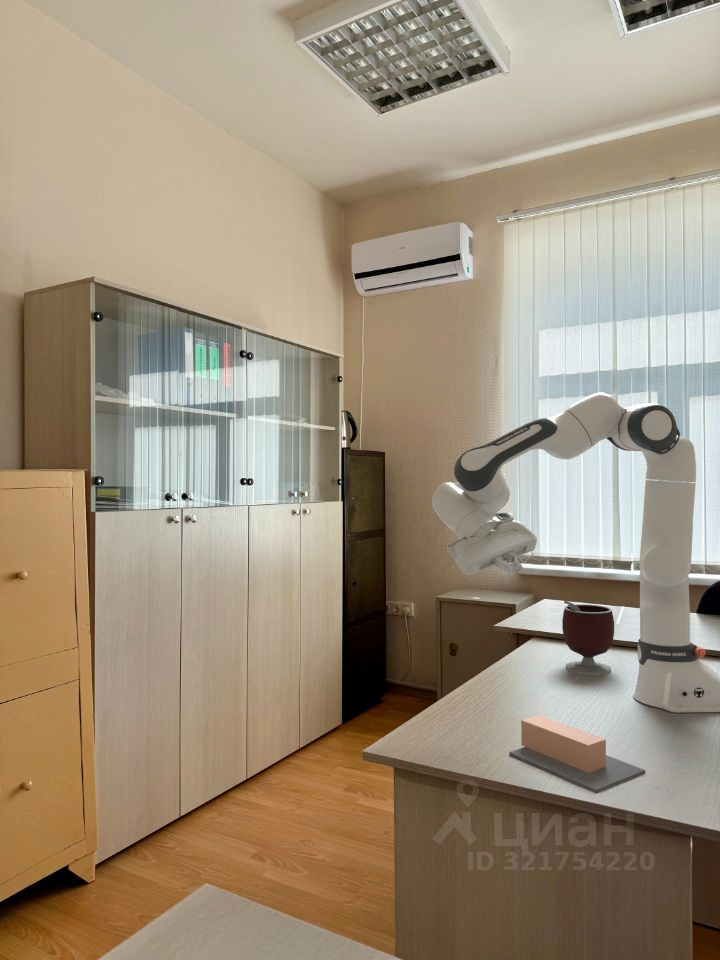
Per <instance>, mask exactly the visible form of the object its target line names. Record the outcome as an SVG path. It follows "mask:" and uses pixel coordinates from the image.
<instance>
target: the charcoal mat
mask: <svg viewBox="0 0 720 960" xmlns="http://www.w3.org/2000/svg"><path fill="white" fill-rule="evenodd" d="M508 754H509V756H511V757H514V758H516V759H518V760H521V761H523V762H525V763H527V764H530V765H532V766H534V767H536V768H539V769H541V770H544V771H546V772H548V773H551V774H553V775H555V776H557V777H560V778H562V779H564V780H566V781H569V782H571V783H573V784H576V785H578V786H580V787H582V788H585V789H587V790H589V791H591V792H594V793H600V792H601V791H605V790H606V789H609V788H612V787H614V786H616V785H618V784H621V783H623V782H626V781H628V780H631V779H633V778H636V777H637V776H638V777H639V776H640V775H643V774H645V773H646V770H645V769H644V768H641V767H639V766H635V765H633V764H630V763H627V762H625V761H622V760H620V759H618V758H615V757H612V756H610V755H607V754H606V767H603V768H601V769H598V770H595V771H593V772H590V773H587V772H585V771H582V770H580V769H577V768H575V767H573V766H570V765H568V764H565V763H563V762H561V761H558V760H556V759H553V758H551V757H549V756H546V755H544V754H541V753H539V752H537V751H534V750H532V749H529V748H527V747H524V746H522V747H520V748H518V749H515V750H512V751H508Z"/></svg>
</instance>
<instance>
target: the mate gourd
mask: <svg viewBox="0 0 720 960" xmlns="http://www.w3.org/2000/svg"><path fill="white" fill-rule="evenodd" d="M563 603H564V604H567V605H565V606H564V609H563V614H562V620H561V622H562V625H561V626H562V636H563V639H564V643H565V645H566V646H567V647H568V649H569V650H570V651H572V652H574V653H576V654H578V655H580V656H581V657H582V659H581V660H577V661H576V660H575V661H569V662H567V663H566V664H565V669H566V670H567V671H568V672H571V673H573V672H574V673H573V674H579V675H583V674H584V675H583V676H605V675H609V674H611V673H612V667H611V666H609V665H608V664H605V663H601V662H597V661H595V659H594V657H597V656H600V655H602V654H605V653H607V652H608V651H609V649H611V647H612V645H613V642H614V637H615V619H614V613H613V609H612V608H611V607H608V606H603V605H597V604H585V603H582V604H574V603H572V602H571V601H567V600H564V601H563Z"/></svg>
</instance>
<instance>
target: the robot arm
mask: <svg viewBox="0 0 720 960" xmlns="http://www.w3.org/2000/svg"><path fill="white" fill-rule="evenodd" d="M603 440H608V441H609V442H610V443H611V444H612V445H614V446H615V447H617V448H618V449H620V450H622V451H627V452H641V453H642V455H643V456H644V458H645V463H646V473H645V483H644V484H645V485H644V495H643V496H644V498H643V511H642V521H641V522H642V523H641V536H640V537H641V538H640V539H641V540H640V550H639V551H640V552H639V620H640V621H639V639H638V640H637V641H638V644H637V661H638V663H639V665H638V674H637V678H636V679H637V680H636V684H635V689H634V692H633V695H632V697H633V698H634V700H635V701H638V702H640V703H642V704H644V705H648V706H651V707H654V708H655V707H656V708H659V709H663V710H665V711H667V712H670V713H720V675H719V674H718V673H717V672H716V671H714V670H713V669H712V668H711V667H709V665H707V664H706V663H704V662H703V661H702V660H701V659H699V658H704V657H705V656H706V653H707V652H706V650H704V648H703V647H700V646H698V645H696V644H694V643H693V642H691V609H690V608H691V606H690V583H689V580H690V579H689V575H690V572H691V568H692V558H693V557H692V555H693V554H692V553H693V537H694V536H693V534H694V533H693V530H694V509H695V499H696V498H695V497H696V496H695V494H696V485H697V484H696V482H697V460H696V459H697V458H696V452H695V451H696V450H695V447H694V443H693V442H692V441H691V440H690V439H688V438H687V437H685V436H681V433H680V429H679V428H678V426H677V421H676V417H675V416H674V414H673V413H672V412H671V410H670V409H669V408H667V407H666V406H664V405H662V404H660V403H654V402H648V403H641V404H634V405H631V406H629V407H622V406H621V405H620V404H619V403H618V401H617V400H616V399H615V398H614V397H613V396H611V395H609V394H608V393H605V392H597V393H593V394H591V395H588V396H586V397H585V398H582V399H581V400H579V401H577V402H575V403H573V404H572V405H570V406H569V407H567V408H565V409H564V410H562V411H561V412H559V413H558V414H555V415H554V416H550V417H548V418H547V417H540V418H539V417H538V418H537V419H536V418H535V419H534V420H532V421H529V422H527V423H525V424H523V425H521V426H518V427H517V428H515V429H513V430H511V431H509V432H507V433H505V434H503V435H502V436H499V437H497V438H496V439H494V440H492V441H489V442H488V443H484V444H483V445H479V446H475V447H472V448H471V449H467V450H466V451H465V452H463V453H462V454H460V456H459V457H458V458H457V460H456V461H455V464H454V467H453V475H454V477H455V479H456V481H457V482H443V483H441V484H440V485H438V487H437V488H436V489H435V490H434V493H433V495H432V498H431V504H432V505H431V506H432V509H433V510H434V512H435V514H436V515H437V517H439V519H440V520H441V521H442V522H443V524H444V525H445V526H446V527H447V528H449V529H450V530H452V531H453V532H454V533H455V536H456V537H457V540H456V541H452V542H449V543H448V545H447V546H446V553H448V555H450V557H451V558H453V560H454V562H455V563H456V566H457V567H458V569H460V571H461V572H462V574H464V575H466V576H471V575H474V574H476V573H479V572H481V571H484V570H486V569H489V568H492V567H494V566H495V567H496V568H497V569H500V570H502V571H505V572H507V573H508V574H509V575H510V576H512V575H515V574H517V573H519V572H522V570H523V565H522V564H521V562H520V561H519V559H518V557H520V556H522V555H526V554H527V553H530V552H533V551H534V550H535V549H536V545H537V542H538V538H537V535H536V534H535V533H534V532H533V531H532V530H531V529H530V528H528V527H527V526H526V525H525V524H524V523H522V522H521V521H519V520H514V516H515V515H513V514H512V513H511V512H498V511H500V510H501V509H502V508H504V507H505V505H507V503H508V502H509V499H510V496H511V495H510V494H511V492H510V488H509V486H508V483H507V481H506V480H505V477H504V476H503V474H502V471H501V470H502V468H503V466H504V465H505V464H507V463H509V462H511V461H513V460H516V458H519V457H521V456H522V455H524V454H526V453H527V452H530V451H533V450H542V451H545V452H546V453H547V454H549V455H550V456H552V457H554V458H556V459H560V460H571V459H574V458H577V457H578V456H581V455H583V454H584V453H585V452H587V451H588V450H590V449H591V448H592V447H594V446H595V445H597V444H598V443H599V442H601V441H603ZM497 512H498V513H497ZM507 561H508V562H507Z"/></svg>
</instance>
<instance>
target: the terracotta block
mask: <svg viewBox="0 0 720 960" xmlns="http://www.w3.org/2000/svg"><path fill="white" fill-rule="evenodd" d="M520 724H521V727H520V728H521V730H520V731H521V738H520V739H521V746H522V747H527V748H529V749H532V750H534V751H537V752H539V753H541V754H544V755H546V756H549V757H551V758H553V759H556V760H558V761H561V762H563V763H565V764H568V765H570V766H573V767H575V768H577V769H580V770H582V771H585V772H587V773H590V772H593V771H595V770H598V769H601V768H603V767H606V755H607V743H606V742H607V739H606V738H603V737H600V736H598V735H594V734H592V733H590V732H588V731H587V732H586V731H583V730H581V729H578V728H575V727H572V726H569V725H567V724H564V723H561V722H558V721H556V720H552V719H549V718H547V717H544V716H541V715H539V714H538V715H535V716H532V717H527V718H524V719H521V723H520Z"/></svg>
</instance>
